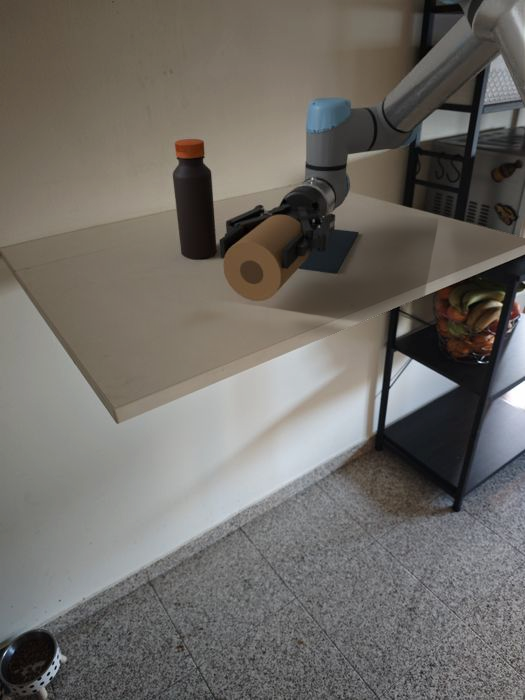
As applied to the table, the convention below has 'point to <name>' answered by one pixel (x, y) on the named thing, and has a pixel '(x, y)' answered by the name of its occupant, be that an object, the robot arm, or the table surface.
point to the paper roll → (262, 258)
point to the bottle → (194, 200)
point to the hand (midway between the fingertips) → (252, 254)
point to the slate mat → (330, 252)
